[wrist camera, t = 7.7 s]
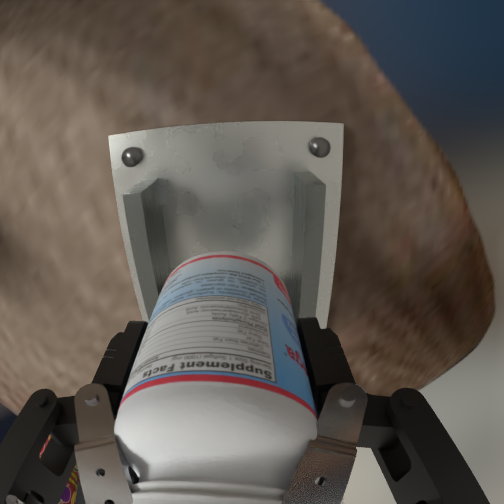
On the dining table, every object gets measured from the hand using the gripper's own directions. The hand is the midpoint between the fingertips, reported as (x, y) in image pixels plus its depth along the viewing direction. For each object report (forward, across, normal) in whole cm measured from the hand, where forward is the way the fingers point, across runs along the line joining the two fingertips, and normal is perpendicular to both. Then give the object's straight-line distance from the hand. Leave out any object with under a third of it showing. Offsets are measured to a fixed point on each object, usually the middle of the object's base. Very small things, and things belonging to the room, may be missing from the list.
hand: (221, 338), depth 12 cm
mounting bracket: (+10, 0, 0) cm, 10 cm away
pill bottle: (+3, 0, 0) cm, 3 cm away
